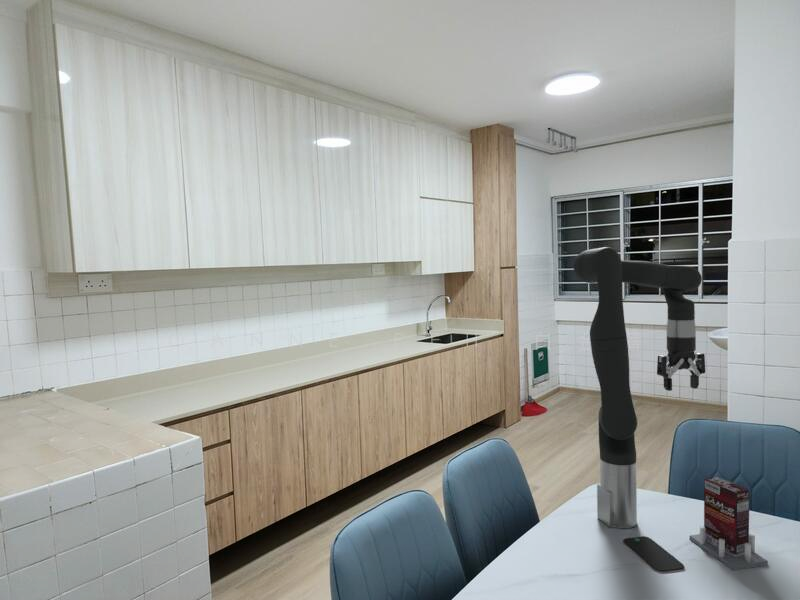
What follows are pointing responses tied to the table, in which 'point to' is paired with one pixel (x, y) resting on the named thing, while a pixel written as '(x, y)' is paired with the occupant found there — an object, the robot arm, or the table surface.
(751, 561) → the grey peg holder
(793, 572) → the table surface
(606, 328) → the robot arm
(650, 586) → the table surface
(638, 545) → the smartphone
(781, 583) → the table surface
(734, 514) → the supplement box
